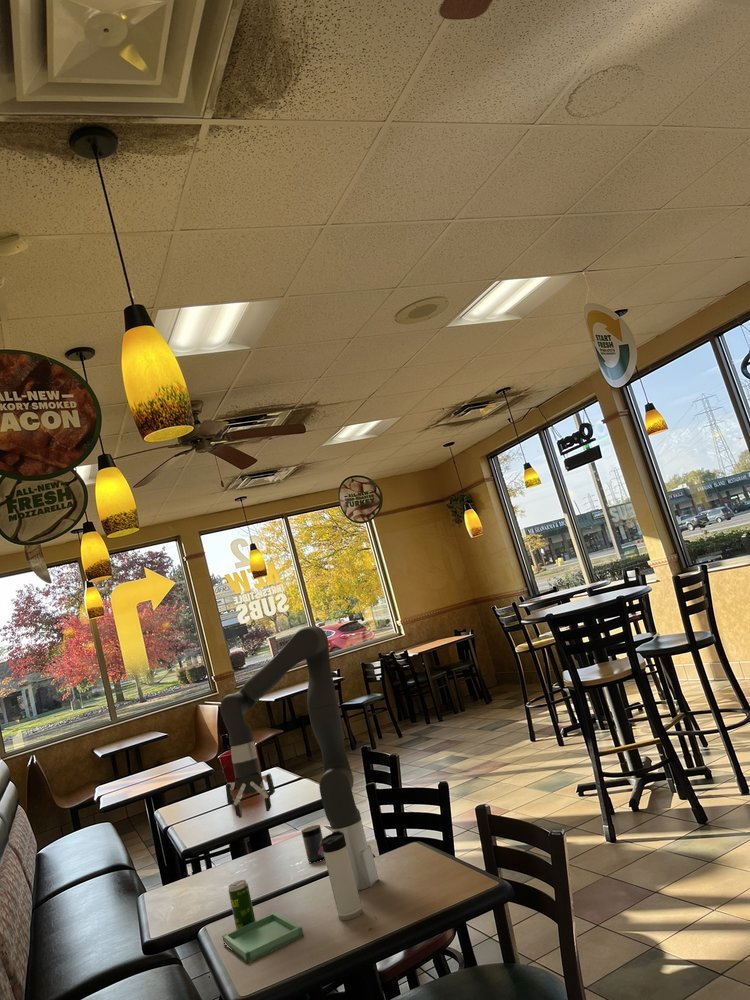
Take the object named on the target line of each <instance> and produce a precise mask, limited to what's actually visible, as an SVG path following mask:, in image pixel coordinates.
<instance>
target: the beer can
mask: <svg viewBox="0 0 750 1000" xmlns="http://www.w3.org/2000/svg"><path fill="white" fill-rule="evenodd" d="M247 882H248V881H247V880H246V879H241V880H237V881H234V882H232V883H231V884H229V885H228V895H229V900H230V906H231V909H232V915H233V920H234V924H235V930H236V929H238V928H241V927H243V926H245V925H247V924H250V923H252V922H254V921H256V920H257V919H256V917H255V916H256V915H255V912H254V907H253V903H252V898H251V897H252V896H251V892H250V888H249V884H248V883H247Z"/></svg>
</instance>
